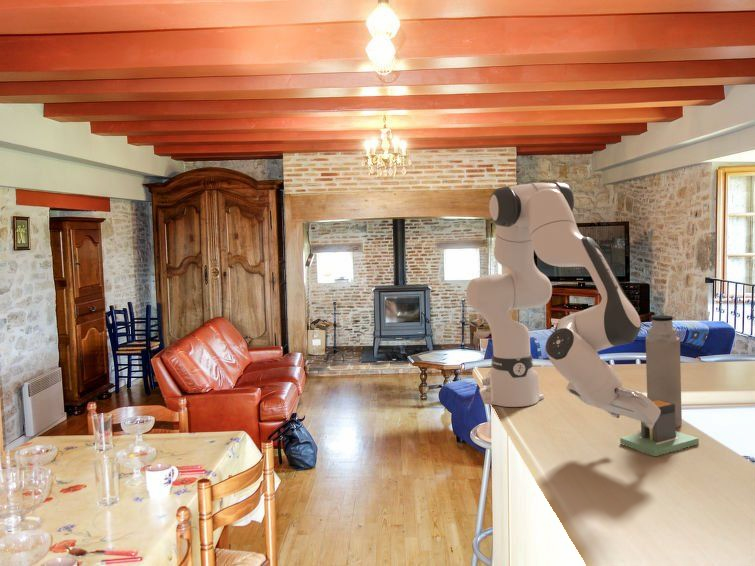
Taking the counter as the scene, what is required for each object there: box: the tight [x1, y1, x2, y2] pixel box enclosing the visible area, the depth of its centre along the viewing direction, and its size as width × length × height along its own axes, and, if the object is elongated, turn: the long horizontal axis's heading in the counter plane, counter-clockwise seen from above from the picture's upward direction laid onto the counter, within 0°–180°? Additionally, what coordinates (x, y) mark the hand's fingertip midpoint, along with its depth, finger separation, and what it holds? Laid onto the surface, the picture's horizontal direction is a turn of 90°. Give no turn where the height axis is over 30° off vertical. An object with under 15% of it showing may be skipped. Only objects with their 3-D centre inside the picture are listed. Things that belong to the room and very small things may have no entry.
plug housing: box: [640, 400, 677, 443], centre depth 142 cm, size 6×4×8 cm
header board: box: [619, 426, 700, 457], centre depth 142 cm, size 14×10×6 cm
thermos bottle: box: [645, 314, 683, 428], centre depth 155 cm, size 8×8×28 cm
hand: (633, 420), depth 138 cm, fingers open, 8 cm apart
